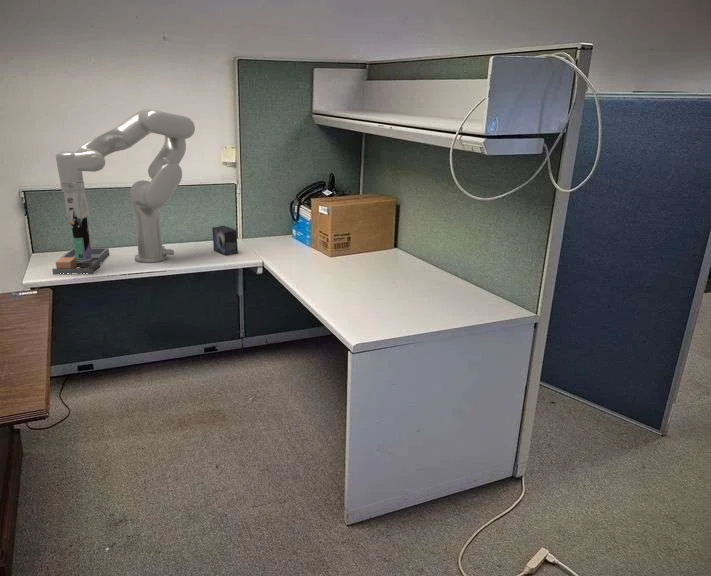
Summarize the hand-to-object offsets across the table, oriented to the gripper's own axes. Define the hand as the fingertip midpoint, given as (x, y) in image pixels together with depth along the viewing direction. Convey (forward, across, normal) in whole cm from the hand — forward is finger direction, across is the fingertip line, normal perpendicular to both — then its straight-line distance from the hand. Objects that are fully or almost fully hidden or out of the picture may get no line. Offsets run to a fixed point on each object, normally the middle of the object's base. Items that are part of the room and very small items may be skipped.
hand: (81, 235), depth 205 cm
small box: (+16, +23, -50) cm, 57 cm away
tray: (+14, +13, +4) cm, 20 cm away
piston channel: (+14, -1, +3) cm, 14 cm away
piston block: (+14, -1, +7) cm, 15 cm away
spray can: (+10, 0, 0) cm, 10 cm away
